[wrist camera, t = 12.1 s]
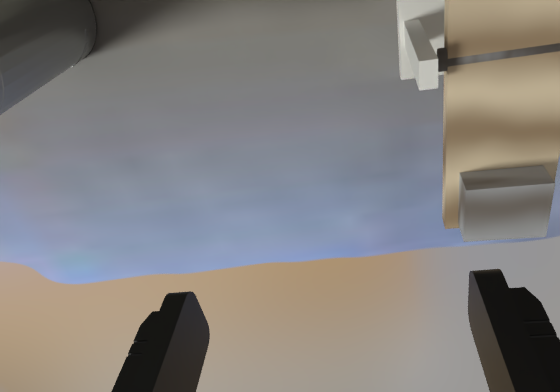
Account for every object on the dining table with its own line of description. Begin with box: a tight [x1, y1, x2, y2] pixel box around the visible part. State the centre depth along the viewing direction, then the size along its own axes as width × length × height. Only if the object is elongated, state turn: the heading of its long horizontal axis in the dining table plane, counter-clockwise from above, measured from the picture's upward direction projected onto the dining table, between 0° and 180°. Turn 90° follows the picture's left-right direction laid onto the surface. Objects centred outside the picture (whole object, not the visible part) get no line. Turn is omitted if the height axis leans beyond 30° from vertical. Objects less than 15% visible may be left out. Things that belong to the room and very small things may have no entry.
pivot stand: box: [396, 0, 445, 91], centre depth 33 cm, size 8×13×12 cm, turn 101°
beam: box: [437, 0, 560, 242], centre depth 30 cm, size 29×9×4 cm, turn 11°
